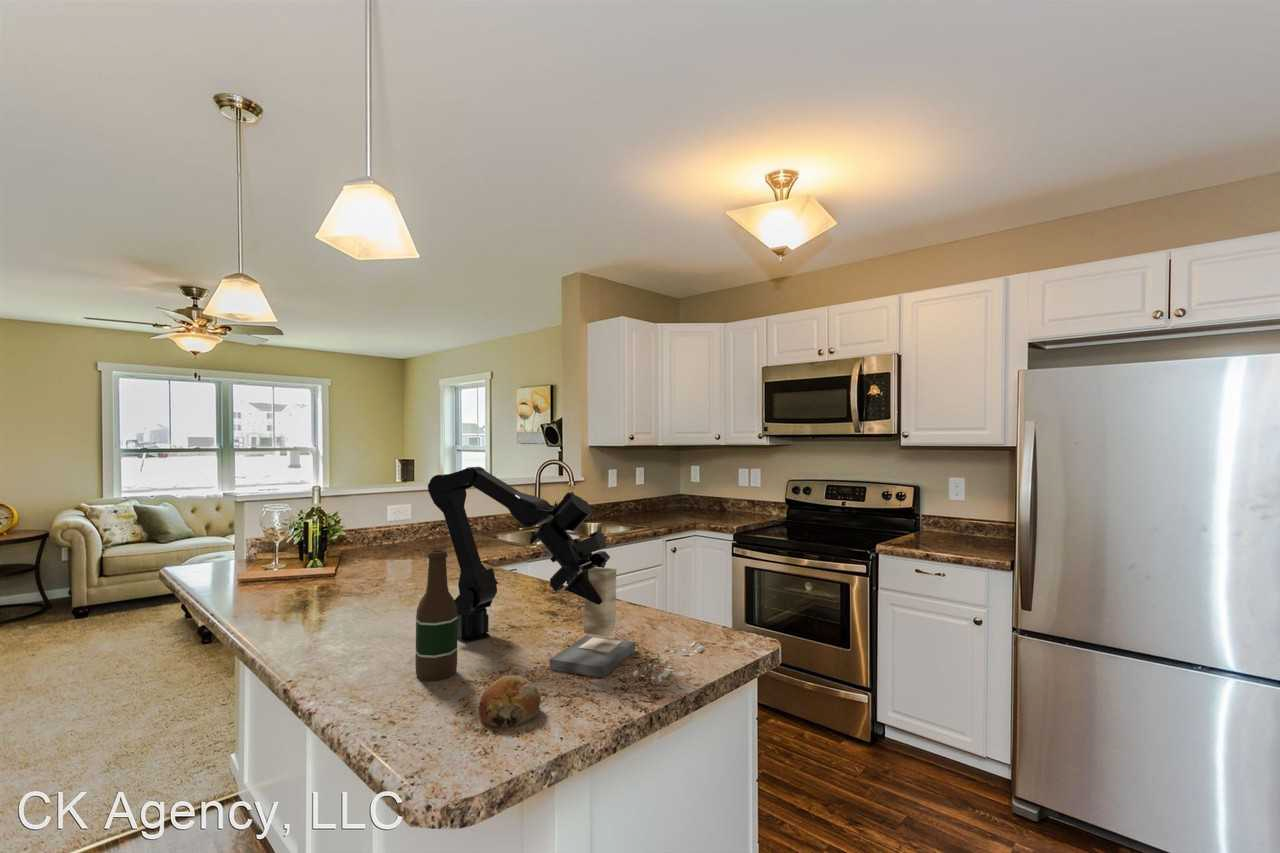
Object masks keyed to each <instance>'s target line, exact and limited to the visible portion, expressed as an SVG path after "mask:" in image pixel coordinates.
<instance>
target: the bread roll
mask: <svg viewBox="0 0 1280 853" xmlns="http://www.w3.org/2000/svg"><path fill="white" fill-rule="evenodd" d="M541 699H542V698H541V695H540V693H539V690H538V689H537V688H536V686H535V685H534V683H532V682H531V681H530V680H529V679H527V678H525V677H523V676H520V675H502V676H501V677H500V678H498V679H496V680H495V681H494V682H492V684H490V686H488V688H486V689H485V690H484V691H483V693H482V695H481V697H480V700H479V706H478V715H479V719H480V720H481V721H482V723H483V724H484V725H486V726H490V727H493V728H501V729H506V728H512V727H516V726H521V725H523V724H525V723H527V722H531V721H532V720H533V719H534V718H536V716H537V715H538V713H539V710H540V705H541V702H542V700H541Z"/></svg>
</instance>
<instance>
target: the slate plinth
mask: <svg viewBox="0 0 1280 853" xmlns="http://www.w3.org/2000/svg"><path fill="white" fill-rule="evenodd" d="M635 652H636V641H632V640H625V639H616V638H609V637H602V636H594V635H593V636H592V635H584V636H583V637H582V638H580V639H578V640H577V641H575V642H574V643H572V644H571V645H569V646H568V647H566V648H564V649H563V650H562V651H560V652H559V653H557V654H556V655H554V656H552V657H551V658H550V659H549V670H552V671H559V672H564V673H569V674H570V673H572V674H576V675H577V674H578V675H582V676H583V675H584V676H589V677H590V676H591V677H597V678H602V679H604V678H606V677H607V676H608V675H610V673H612V672H613V671H614V670H615V669H616V668H618V667H619V666H620V665H621V664H622V663H623V662H624V661H626V660H627V659H628V658H629V657H630V656H632V655H633V654H634V653H635Z"/></svg>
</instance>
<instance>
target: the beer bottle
mask: <svg viewBox="0 0 1280 853" xmlns="http://www.w3.org/2000/svg"><path fill="white" fill-rule="evenodd" d="M426 556H427V558H428V566H427V567H428V568H427V581H426V589H425V593H424V594H423V596H422V598H421V599H420V601H419V602H418V606H417V607H416V614H415V615H416V616H415V675H416V677H417V678H418V679H419V680H420V681H425V682H437V681H440V680H441V681H442V680H446V679H449V678H450V677H452V676H453V675H454V674H456V672H457V669H458V668H457V667H458V639H457V624H458V615H457V606H456V603H455V599H454V597H453V596H452V595H451V593H450V591H449V584H448V572H447V557H448V552H447V551H446V550H443V549H433V550H431V551H429V552H428V553H427V555H426Z"/></svg>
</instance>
